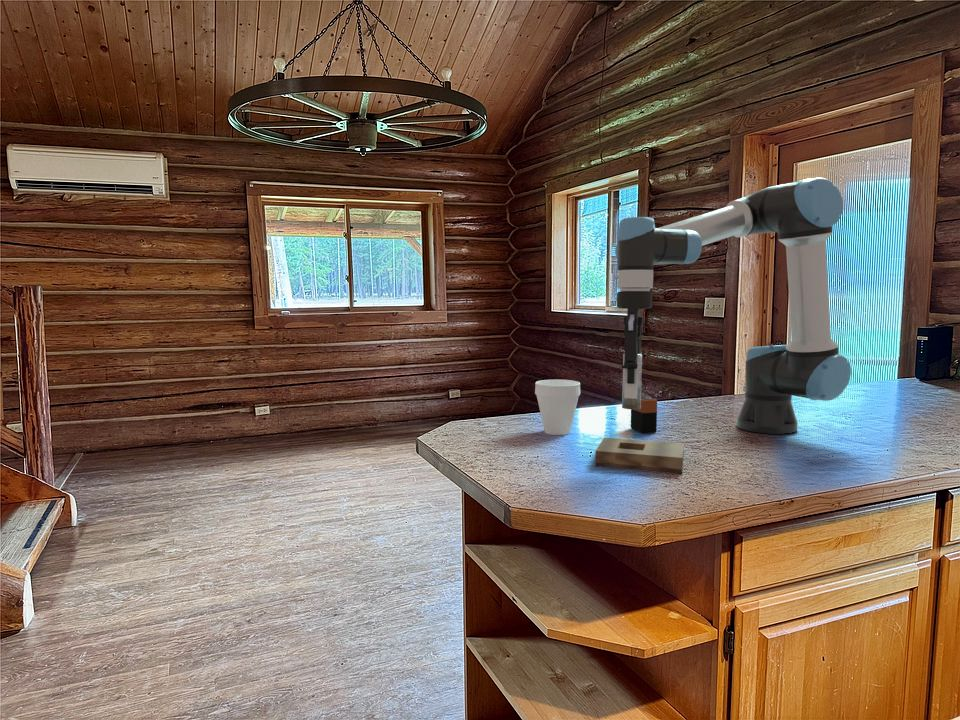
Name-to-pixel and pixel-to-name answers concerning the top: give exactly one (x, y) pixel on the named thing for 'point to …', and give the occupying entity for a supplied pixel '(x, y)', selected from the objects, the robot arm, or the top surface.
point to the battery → (645, 415)
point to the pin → (636, 403)
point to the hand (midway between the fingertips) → (631, 396)
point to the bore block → (640, 455)
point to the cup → (557, 404)
